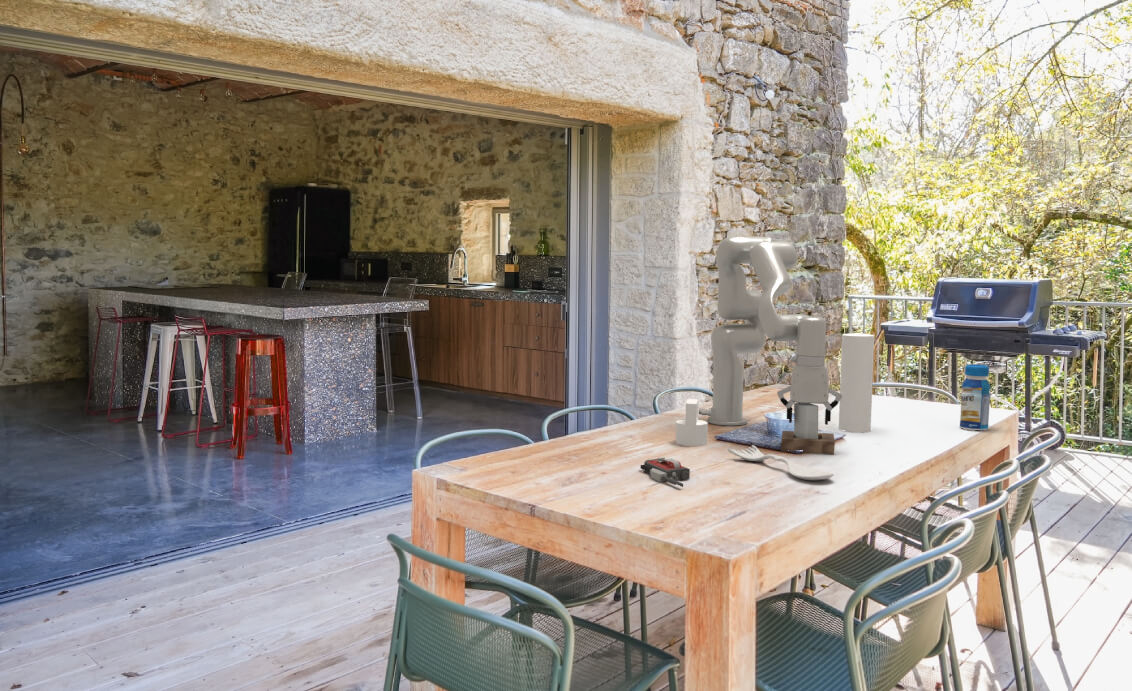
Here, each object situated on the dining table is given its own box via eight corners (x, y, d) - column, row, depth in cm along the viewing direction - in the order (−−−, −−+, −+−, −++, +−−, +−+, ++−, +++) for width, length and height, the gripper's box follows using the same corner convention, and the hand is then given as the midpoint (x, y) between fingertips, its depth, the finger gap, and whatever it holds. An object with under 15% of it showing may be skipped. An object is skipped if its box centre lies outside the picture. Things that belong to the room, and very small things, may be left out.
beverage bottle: (993, 431, 272) (997, 367, 270) (966, 431, 272) (969, 367, 270) (981, 426, 281) (984, 364, 279) (954, 426, 281) (957, 363, 279)
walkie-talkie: (632, 472, 218) (678, 491, 200) (632, 454, 217) (678, 472, 200) (662, 469, 222) (709, 487, 204) (663, 451, 221) (710, 468, 203)
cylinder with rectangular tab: (676, 439, 257) (677, 398, 256) (707, 440, 256) (708, 399, 254) (674, 445, 249) (675, 403, 247) (706, 446, 247) (707, 404, 246)
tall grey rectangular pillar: (874, 432, 269) (878, 334, 266) (843, 432, 269) (847, 334, 266) (864, 427, 278) (868, 332, 275) (834, 426, 278) (838, 331, 275)
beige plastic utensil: (752, 456, 237) (753, 443, 237) (841, 483, 209) (842, 468, 208) (725, 459, 233) (726, 446, 232) (813, 487, 205) (813, 472, 204)
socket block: (780, 451, 242) (781, 438, 241) (782, 442, 253) (782, 430, 253) (834, 454, 238) (834, 441, 238) (833, 445, 250) (833, 433, 249)
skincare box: (818, 448, 244) (820, 405, 242) (804, 449, 242) (806, 406, 241) (806, 444, 249) (807, 401, 248) (792, 445, 248) (793, 402, 247)
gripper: (777, 362, 242) (775, 423, 244) (843, 364, 237) (841, 427, 239) (778, 359, 249) (776, 418, 251) (842, 361, 245) (840, 422, 246)
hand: (808, 422), depth 245 cm, fingers open, 9 cm apart
